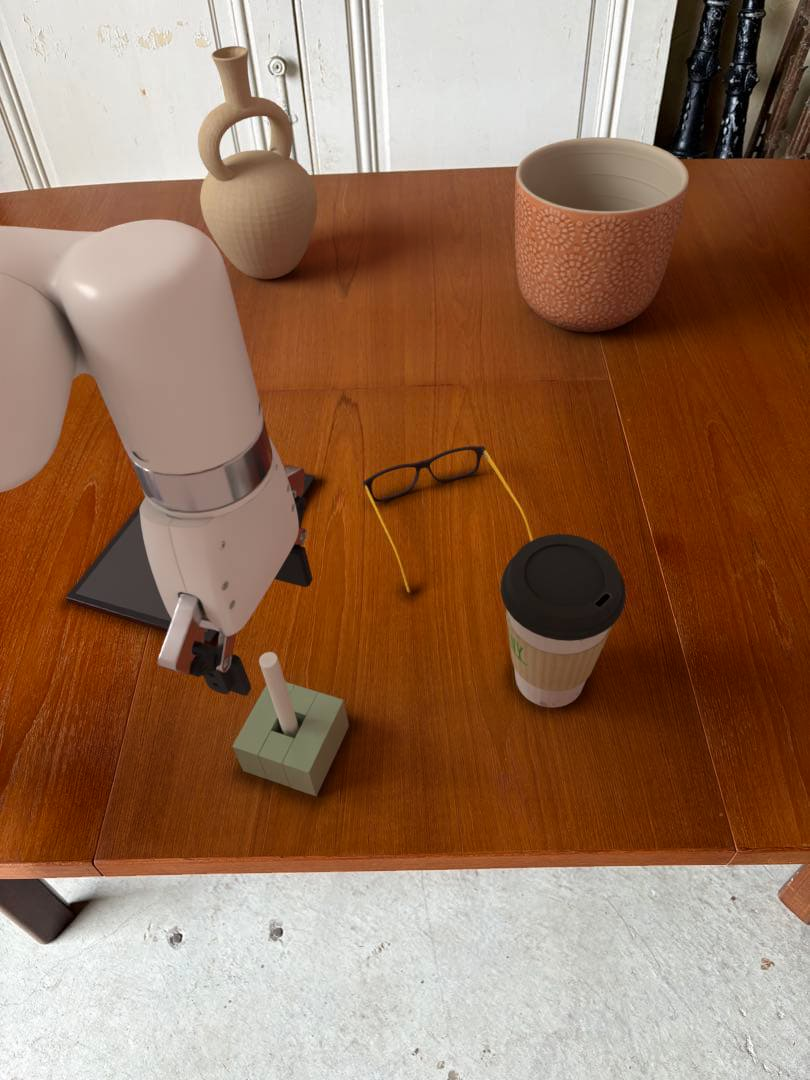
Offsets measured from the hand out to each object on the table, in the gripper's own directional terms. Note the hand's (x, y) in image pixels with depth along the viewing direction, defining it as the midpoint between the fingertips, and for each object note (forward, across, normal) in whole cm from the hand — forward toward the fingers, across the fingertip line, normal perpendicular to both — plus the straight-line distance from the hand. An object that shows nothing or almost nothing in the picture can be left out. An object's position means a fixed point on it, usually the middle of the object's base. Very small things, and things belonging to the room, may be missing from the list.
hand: (262, 630), depth 58 cm
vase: (+18, -72, -39) cm, 84 cm away
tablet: (+18, -19, -21) cm, 33 cm away
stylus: (+18, 0, 0) cm, 18 cm away
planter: (+18, -74, +9) cm, 77 cm away
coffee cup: (+18, -14, +19) cm, 29 cm away
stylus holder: (+18, 0, 0) cm, 18 cm away
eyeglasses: (+18, -29, +4) cm, 34 cm away
